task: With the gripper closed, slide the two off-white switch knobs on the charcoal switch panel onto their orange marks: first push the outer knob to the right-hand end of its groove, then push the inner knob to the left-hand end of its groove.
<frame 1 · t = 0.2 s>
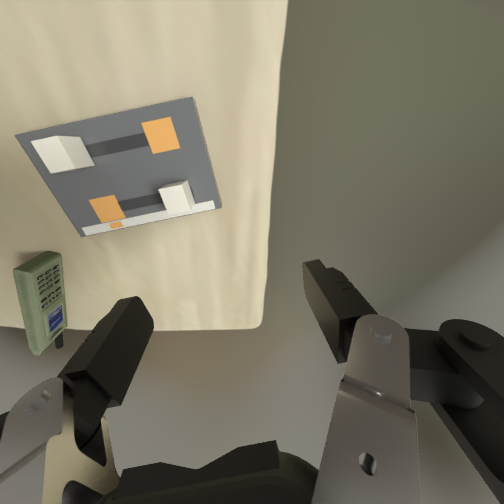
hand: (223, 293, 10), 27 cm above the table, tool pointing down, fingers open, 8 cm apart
outer switch: (178, 196, 30), point 4 cm above the table, slide at 0.0 cm
switch panel: (135, 174, 32), on the table
inner switch: (65, 154, 26), point 4 cm above the table, slide at 0.0 cm
handheld radio: (60, 301, 42), on the table
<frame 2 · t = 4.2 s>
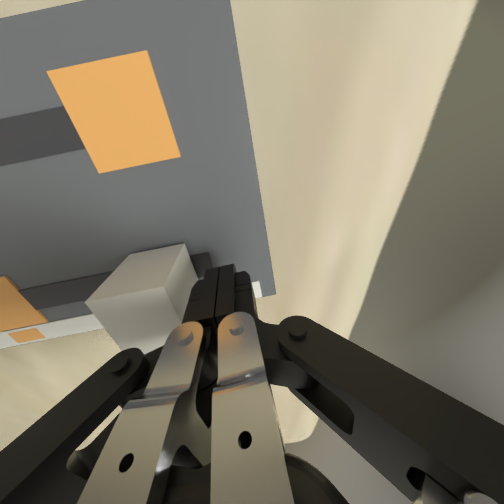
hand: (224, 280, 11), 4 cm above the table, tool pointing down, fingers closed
outer switch: (158, 295, 11), point 4 cm above the table, slide at 0.9 cm, touching gripper
switch panel: (66, 219, 13), on the table
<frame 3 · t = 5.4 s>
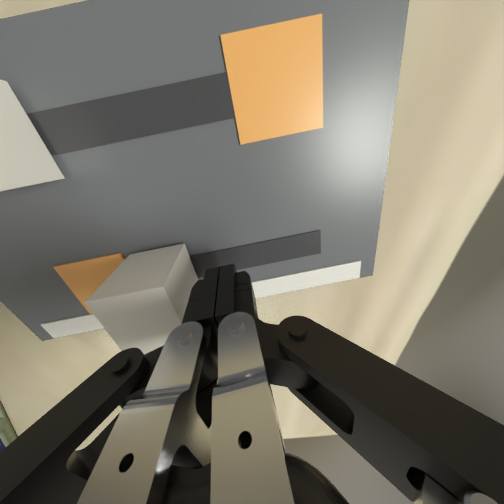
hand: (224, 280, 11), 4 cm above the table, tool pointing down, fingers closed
outer switch: (158, 295, 11), point 4 cm above the table, slide at 7.8 cm, touching gripper
switch panel: (175, 197, 12), on the table
handheld radio: (3, 420, 23), on the table
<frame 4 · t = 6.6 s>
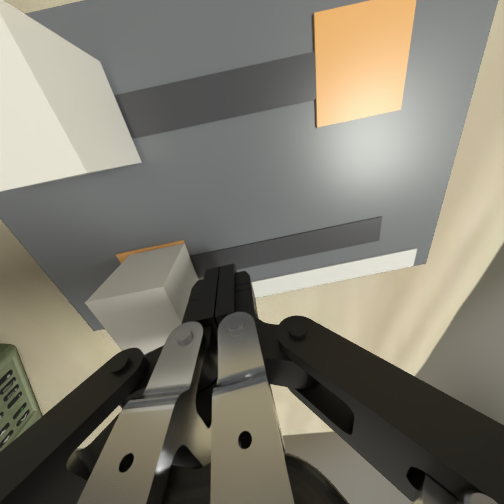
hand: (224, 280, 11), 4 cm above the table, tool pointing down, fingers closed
outer switch: (158, 295, 11), point 4 cm above the table, slide at 11.5 cm, touching gripper
switch panel: (233, 184, 12), on the table
inner switch: (48, 119, 7), point 4 cm above the table, slide at 0.0 cm
handheld radio: (34, 414, 23), on the table
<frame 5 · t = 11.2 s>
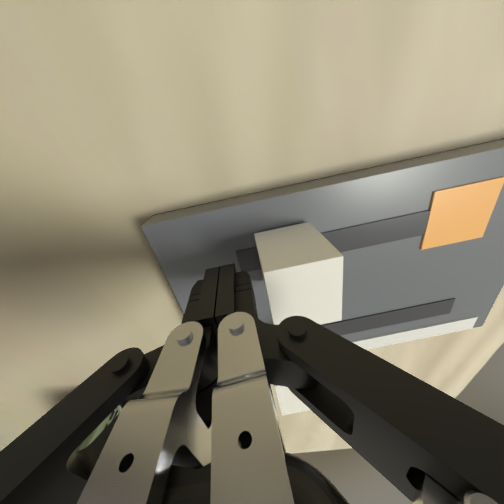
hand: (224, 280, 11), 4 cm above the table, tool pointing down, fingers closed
outer switch: (295, 366, 14), point 4 cm above the table, slide at 11.6 cm
switch panel: (338, 272, 16), on the table
inner switch: (293, 273, 10), point 4 cm above the table, slide at 1.1 cm, touching gripper
handheld radio: (119, 435, 26), on the table
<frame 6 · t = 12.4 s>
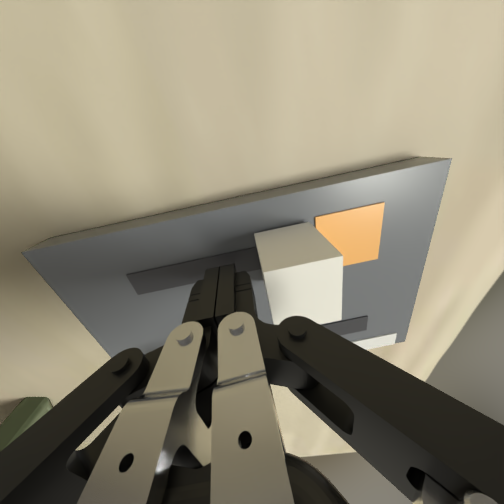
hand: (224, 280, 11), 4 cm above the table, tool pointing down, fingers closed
switch panel: (254, 289, 16), on the table
inner switch: (293, 272, 10), point 4 cm above the table, slide at 8.0 cm, touching gripper
handheld radio: (66, 446, 26), on the table
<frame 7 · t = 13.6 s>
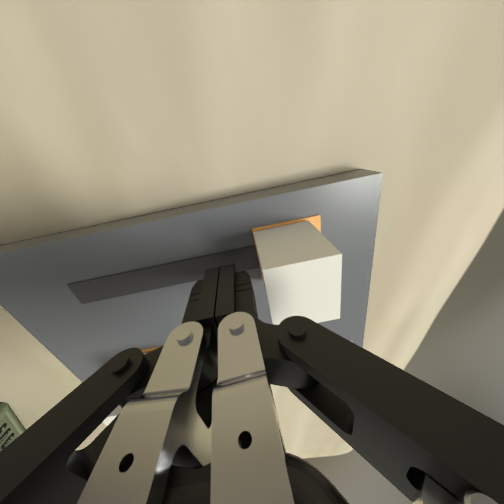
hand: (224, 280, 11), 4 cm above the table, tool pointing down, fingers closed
outer switch: (150, 393, 14), point 4 cm above the table, slide at 11.6 cm
switch panel: (209, 297, 16), on the table
inner switch: (292, 271, 11), point 4 cm above the table, slide at 11.6 cm, touching gripper
handheld radio: (34, 450, 26), on the table
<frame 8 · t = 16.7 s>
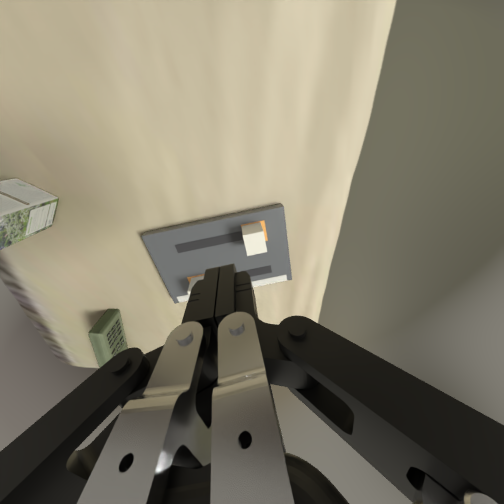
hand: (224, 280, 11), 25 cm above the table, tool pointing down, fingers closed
syrup box: (37, 203, 32), on the table
outer switch: (201, 290, 37), point 4 cm above the table, slide at 11.6 cm
switch panel: (224, 254, 38), on the table
inner switch: (254, 238, 33), point 4 cm above the table, slide at 11.7 cm
handheld radio: (123, 346, 48), on the table
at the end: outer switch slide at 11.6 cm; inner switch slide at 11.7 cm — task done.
